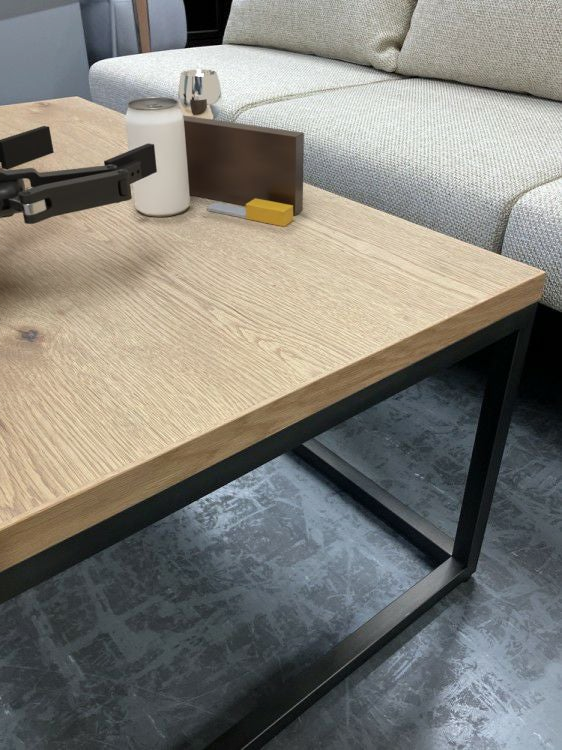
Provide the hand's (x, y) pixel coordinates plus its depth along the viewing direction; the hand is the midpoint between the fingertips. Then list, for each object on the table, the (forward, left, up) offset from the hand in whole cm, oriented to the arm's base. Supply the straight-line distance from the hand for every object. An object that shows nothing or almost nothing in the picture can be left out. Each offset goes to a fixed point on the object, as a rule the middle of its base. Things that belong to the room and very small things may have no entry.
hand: (99, 148), depth 71 cm
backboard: (+4, +16, -9) cm, 19 cm away
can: (0, +9, -10) cm, 13 cm away
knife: (+10, +12, -9) cm, 18 cm away
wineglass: (-5, +26, -10) cm, 28 cm away
